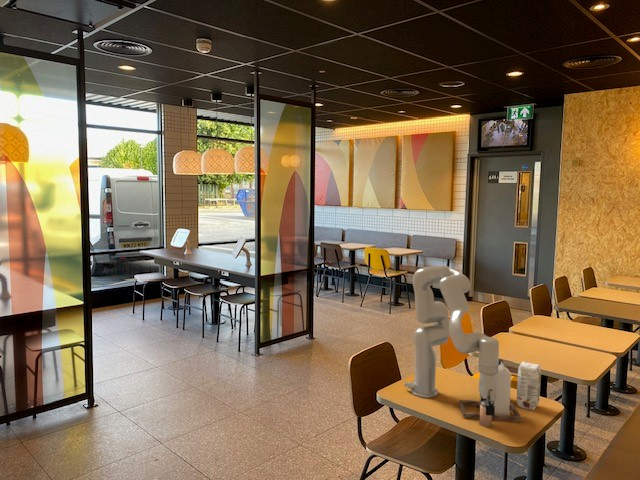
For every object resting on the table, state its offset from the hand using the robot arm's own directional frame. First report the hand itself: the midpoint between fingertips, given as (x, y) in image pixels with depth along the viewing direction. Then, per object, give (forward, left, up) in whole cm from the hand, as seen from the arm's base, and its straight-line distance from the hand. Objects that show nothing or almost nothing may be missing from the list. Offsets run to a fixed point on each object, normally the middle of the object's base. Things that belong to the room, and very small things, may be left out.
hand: (487, 409), depth 193 cm
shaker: (0, +1, -7) cm, 7 cm away
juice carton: (+22, +21, -7) cm, 31 cm away
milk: (+8, +12, -7) cm, 16 cm away
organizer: (+3, +12, -7) cm, 14 cm away
